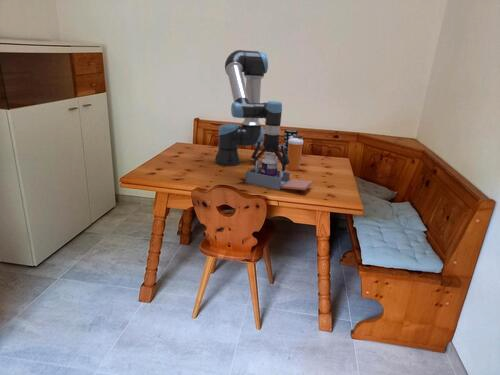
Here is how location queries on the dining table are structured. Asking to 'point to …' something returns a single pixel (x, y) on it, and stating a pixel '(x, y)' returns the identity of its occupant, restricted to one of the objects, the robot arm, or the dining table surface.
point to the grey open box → (266, 179)
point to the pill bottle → (269, 165)
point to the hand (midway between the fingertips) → (268, 174)
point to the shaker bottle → (294, 152)
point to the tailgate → (297, 184)
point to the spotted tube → (286, 138)
